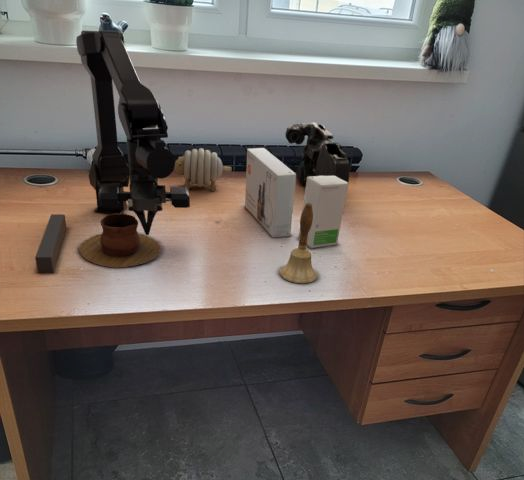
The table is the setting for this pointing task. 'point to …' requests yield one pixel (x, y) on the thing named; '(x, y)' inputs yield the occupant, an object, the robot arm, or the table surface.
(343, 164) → the movie camera
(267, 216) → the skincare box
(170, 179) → the table surface
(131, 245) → the ceramic pot
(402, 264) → the table surface
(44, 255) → the rail
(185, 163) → the toy sheep
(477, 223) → the table surface
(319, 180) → the cosmetic box
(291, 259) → the hand bell
